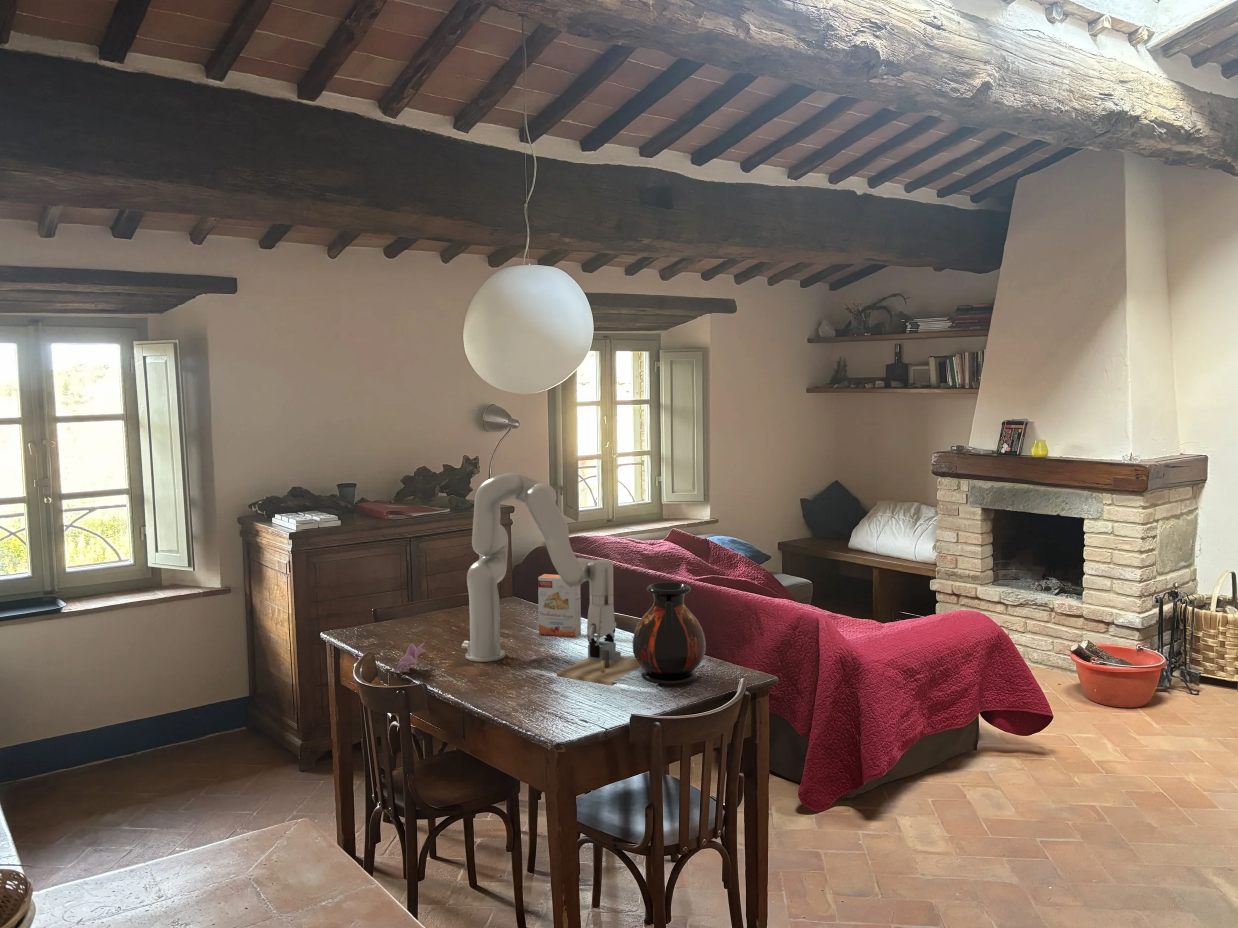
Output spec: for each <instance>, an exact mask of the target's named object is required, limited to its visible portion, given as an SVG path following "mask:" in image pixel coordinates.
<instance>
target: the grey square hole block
mask: <svg viewBox="0 0 1238 928" xmlns="http://www.w3.org/2000/svg"><path fill="white" fill-rule="evenodd" d="M598 645H600V657H599V658H594V657H590V645H589V644H588V645H587V658H588V659H591V660H598V661H601V660H602V650H609V660H613V661H619V660H621V657H622V652H621V651H617V647H616V645H617V644H616V642H615V641H614V642H607V641H604V640H601V639H600V640H599V644H598Z"/></svg>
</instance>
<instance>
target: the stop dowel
mask: <svg viewBox="0 0 1238 928" xmlns="http://www.w3.org/2000/svg"><path fill="white" fill-rule="evenodd" d="M601 673H605V660H601Z"/></svg>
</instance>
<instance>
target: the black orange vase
mask: <svg viewBox="0 0 1238 928" xmlns="http://www.w3.org/2000/svg"><path fill="white" fill-rule="evenodd" d="M691 589H692V588H691V586H690V585H688V584H686V583H679V582H656V583H652V584H649V585H648V586H647V587H646V590H647V592H648V593H649V594H652V596H653V603H652V605H651V607H650V608H649V609H648V611H646V613H645V614H643V616H642V617H641V619H640V620H639V621H638V623H637V625H636V627H635V630H634V633H633V638H632V653H633V656H634V659H636V661H637V662H638V664H639V665H640V667H641V668H642V669H643V670H642V672H641V673H640V676H641V679H643V680H644V681H646V682H649V683H652V684H655V685H656V686H657V687H661V688H663V687H664V688H676V686H678V687H683V685H684V686H688V685H690V684H693V683H694V682H695V681H696V680H697V678H698V674H697V672H696V671H695V670H696V669H697V668H698V667H699V666H700V665H701V663H702V662H703V660H704V657H705V654H706V647H707V645H706V644H707V643H706V637H705V636H706V635H705V632H704V630H703V628H702V626H701V623H700V621H699V620H698V619H697V617H696V616H695V614H693V613H692V611H690V609H689V608H688V607H687V606H686V604H685V601H684V600H685V595H686V594H689V593H690V592H691ZM687 684H688V685H687Z"/></svg>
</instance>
